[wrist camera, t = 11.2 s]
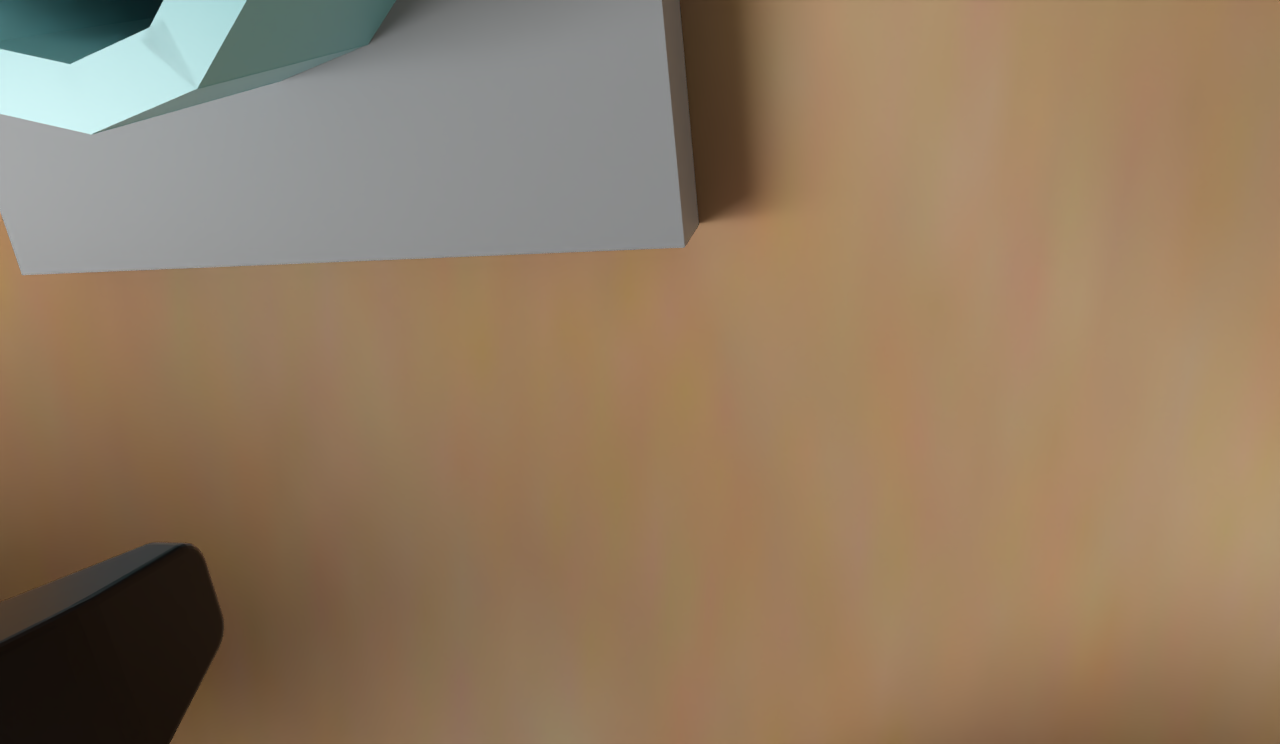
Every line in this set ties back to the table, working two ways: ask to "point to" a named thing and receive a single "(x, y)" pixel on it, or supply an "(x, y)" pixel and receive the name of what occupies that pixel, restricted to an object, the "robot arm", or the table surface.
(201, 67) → the mug with handle
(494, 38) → the flat gray panel
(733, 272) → the table surface
